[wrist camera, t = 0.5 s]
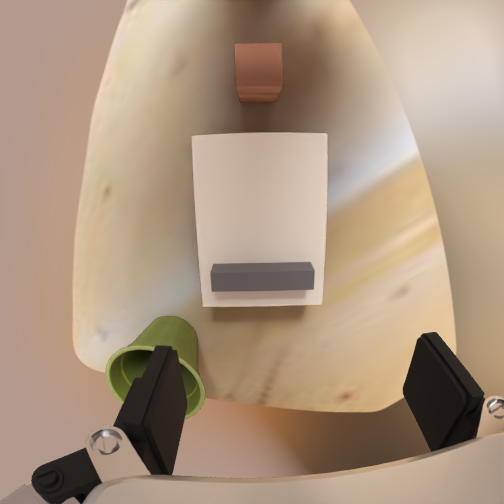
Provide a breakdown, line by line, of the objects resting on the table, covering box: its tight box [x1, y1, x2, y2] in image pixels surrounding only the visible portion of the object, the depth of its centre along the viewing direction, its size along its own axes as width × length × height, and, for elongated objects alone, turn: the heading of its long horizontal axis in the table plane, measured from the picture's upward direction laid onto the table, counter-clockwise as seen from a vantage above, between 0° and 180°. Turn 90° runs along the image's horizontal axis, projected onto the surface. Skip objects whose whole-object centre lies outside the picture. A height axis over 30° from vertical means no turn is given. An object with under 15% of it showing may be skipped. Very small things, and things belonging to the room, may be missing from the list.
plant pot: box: [106, 316, 205, 420], centre depth 38 cm, size 12×12×11 cm
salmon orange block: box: [235, 43, 283, 103], centre depth 28 cm, size 4×4×10 cm
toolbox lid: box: [192, 132, 328, 307], centre depth 31 cm, size 18×13×4 cm
